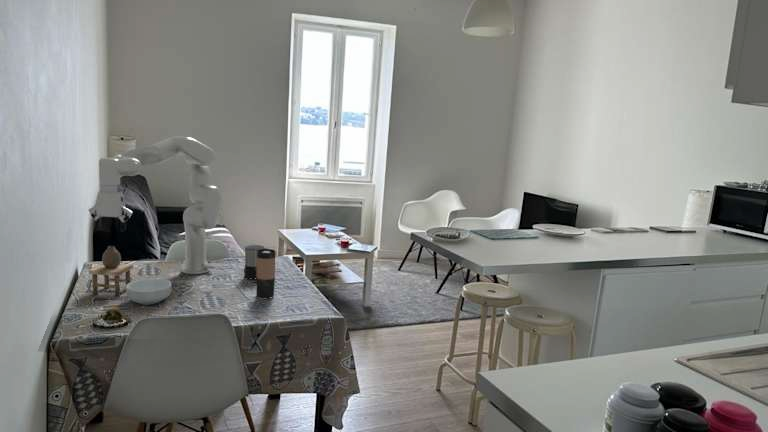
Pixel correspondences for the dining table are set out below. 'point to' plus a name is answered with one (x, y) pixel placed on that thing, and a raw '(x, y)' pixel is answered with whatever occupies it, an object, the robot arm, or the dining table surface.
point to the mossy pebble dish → (113, 317)
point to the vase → (111, 258)
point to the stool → (106, 272)
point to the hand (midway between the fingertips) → (111, 230)
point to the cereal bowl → (148, 290)
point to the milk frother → (251, 260)
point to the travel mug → (265, 273)
